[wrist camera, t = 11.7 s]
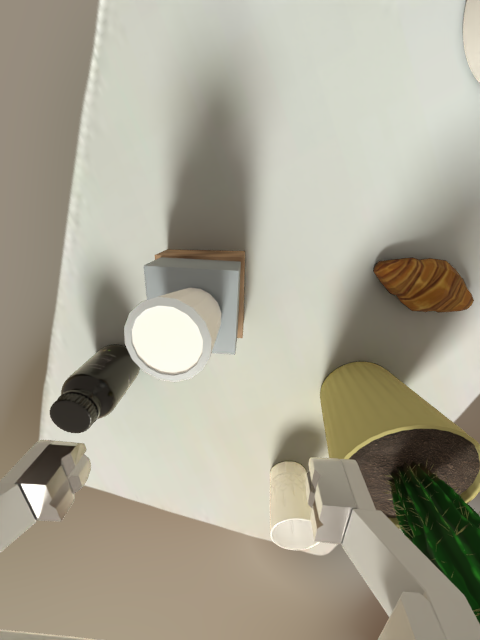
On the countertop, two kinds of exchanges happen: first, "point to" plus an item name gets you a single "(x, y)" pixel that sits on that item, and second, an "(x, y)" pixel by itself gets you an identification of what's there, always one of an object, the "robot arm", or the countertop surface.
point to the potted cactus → (410, 466)
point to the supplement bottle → (94, 389)
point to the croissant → (424, 284)
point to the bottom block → (215, 256)
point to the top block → (209, 277)
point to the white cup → (290, 507)
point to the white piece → (173, 333)
